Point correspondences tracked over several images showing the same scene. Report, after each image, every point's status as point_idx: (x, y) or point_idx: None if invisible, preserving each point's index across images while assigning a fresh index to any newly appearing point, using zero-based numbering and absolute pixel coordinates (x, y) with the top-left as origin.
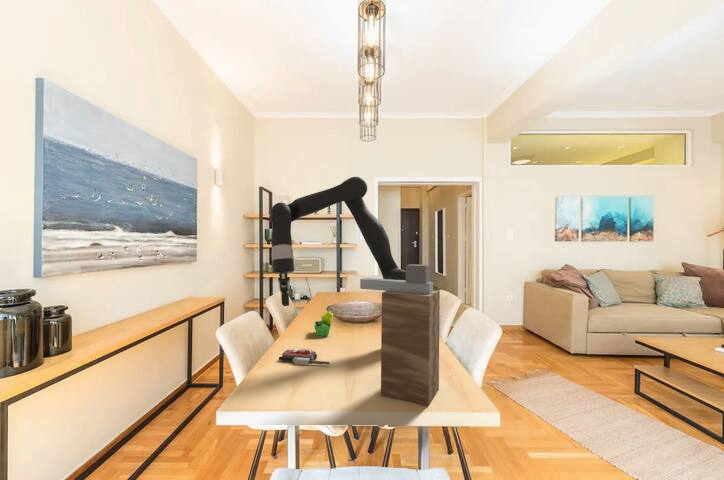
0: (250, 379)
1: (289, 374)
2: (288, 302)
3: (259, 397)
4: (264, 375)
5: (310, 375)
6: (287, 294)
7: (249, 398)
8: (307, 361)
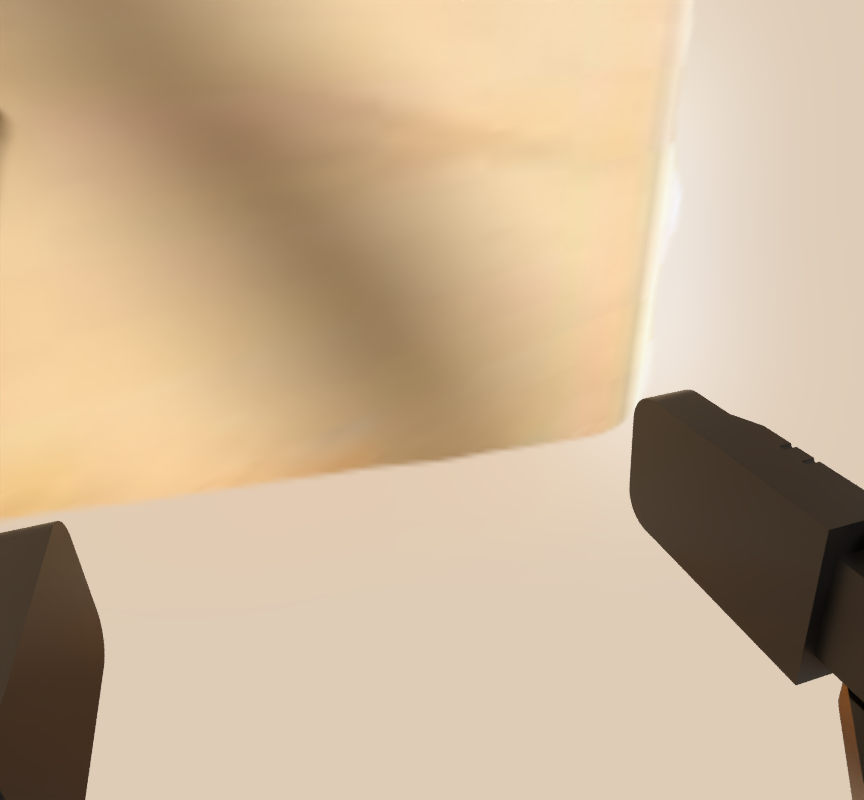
0: (312, 473)
1: (214, 223)
2: (703, 399)
3: (535, 328)
4: (241, 409)
5: (229, 34)
6: (851, 510)
7: (540, 374)
8: None
